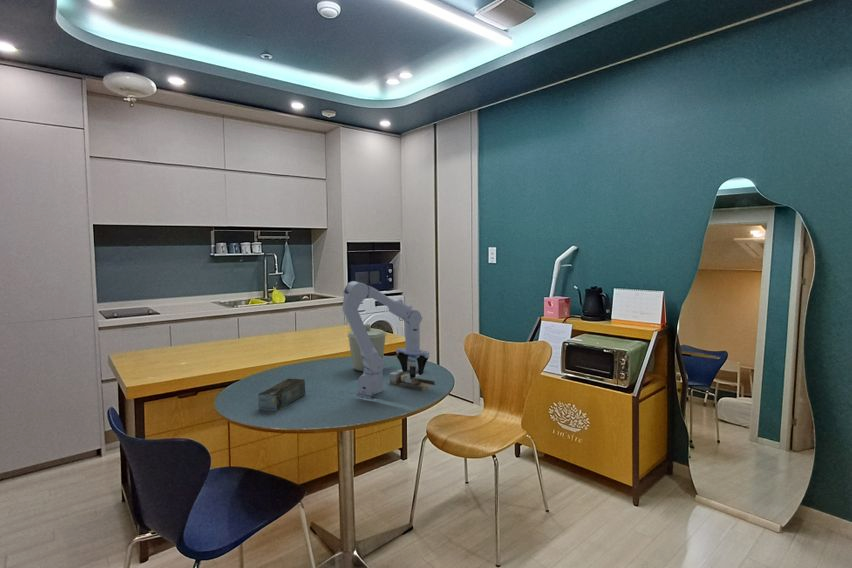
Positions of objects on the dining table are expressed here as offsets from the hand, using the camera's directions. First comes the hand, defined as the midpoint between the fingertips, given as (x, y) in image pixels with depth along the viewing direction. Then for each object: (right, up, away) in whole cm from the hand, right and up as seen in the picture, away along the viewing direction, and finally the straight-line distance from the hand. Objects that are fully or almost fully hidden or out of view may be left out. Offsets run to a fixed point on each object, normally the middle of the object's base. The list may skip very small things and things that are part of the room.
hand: (412, 373), depth 180 cm
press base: (-1, -6, +1) cm, 6 cm away
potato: (-3, -5, +2) cm, 6 cm away
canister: (-22, -4, +29) cm, 37 cm away
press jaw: (0, -4, 0) cm, 4 cm away
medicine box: (-1, -5, +23) cm, 23 cm away
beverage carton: (-47, -8, -14) cm, 50 cm away
